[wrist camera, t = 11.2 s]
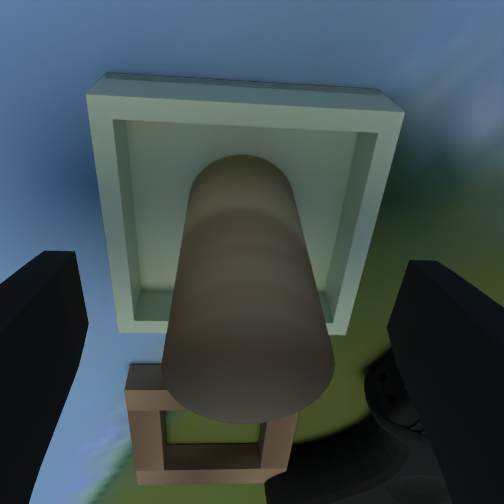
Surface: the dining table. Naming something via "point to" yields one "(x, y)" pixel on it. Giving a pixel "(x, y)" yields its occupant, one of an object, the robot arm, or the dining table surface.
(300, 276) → the dowel
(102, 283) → the dining table surface
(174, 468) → the socket
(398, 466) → the handgun
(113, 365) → the dining table surface
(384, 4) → the dining table surface
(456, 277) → the robot arm
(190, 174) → the tray
